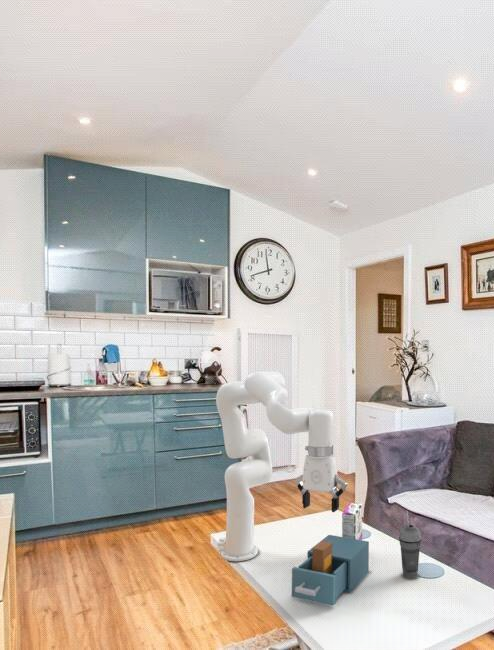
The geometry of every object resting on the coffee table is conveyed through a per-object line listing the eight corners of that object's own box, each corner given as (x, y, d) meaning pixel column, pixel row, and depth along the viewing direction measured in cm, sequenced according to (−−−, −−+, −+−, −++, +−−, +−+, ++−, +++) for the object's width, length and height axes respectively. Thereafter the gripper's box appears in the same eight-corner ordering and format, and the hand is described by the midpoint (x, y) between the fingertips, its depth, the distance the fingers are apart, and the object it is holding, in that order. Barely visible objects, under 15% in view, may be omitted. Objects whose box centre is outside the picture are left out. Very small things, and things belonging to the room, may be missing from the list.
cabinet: (350, 592, 145) (350, 559, 146) (307, 583, 150) (307, 551, 151) (368, 572, 158) (368, 541, 159) (328, 564, 164) (328, 534, 165)
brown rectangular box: (311, 590, 142) (312, 548, 143) (321, 581, 148) (321, 540, 148) (322, 593, 141) (323, 550, 142) (332, 584, 146) (332, 542, 147)
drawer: (325, 614, 132) (326, 584, 132) (283, 604, 137) (283, 575, 137) (352, 584, 148) (353, 557, 149) (313, 576, 153) (314, 550, 154)
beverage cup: (415, 583, 151) (415, 516, 152) (394, 577, 155) (394, 512, 156) (425, 574, 157) (425, 510, 159) (405, 568, 161) (405, 506, 162)
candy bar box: (348, 549, 176) (349, 502, 177) (362, 550, 175) (362, 503, 176) (341, 562, 165) (341, 512, 166) (355, 564, 164) (356, 513, 165)
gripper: (289, 451, 149) (289, 509, 148) (341, 455, 143) (341, 516, 141) (302, 446, 156) (301, 502, 155) (351, 450, 149) (351, 508, 148)
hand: (320, 508), depth 148 cm, fingers open, 9 cm apart
